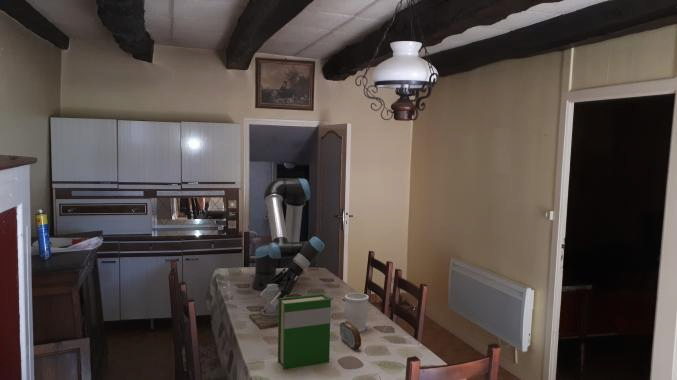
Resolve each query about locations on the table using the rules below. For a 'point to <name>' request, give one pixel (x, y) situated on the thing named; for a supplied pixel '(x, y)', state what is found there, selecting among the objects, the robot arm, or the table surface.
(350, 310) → the jar
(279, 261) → the robot arm
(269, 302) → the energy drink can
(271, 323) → the mount
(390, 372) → the table surface
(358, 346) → the tin
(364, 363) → the table surface
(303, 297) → the hardback book
